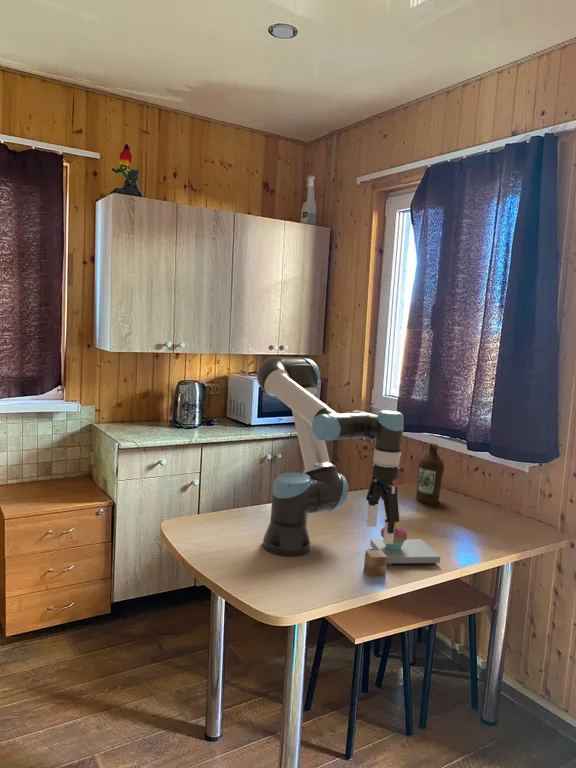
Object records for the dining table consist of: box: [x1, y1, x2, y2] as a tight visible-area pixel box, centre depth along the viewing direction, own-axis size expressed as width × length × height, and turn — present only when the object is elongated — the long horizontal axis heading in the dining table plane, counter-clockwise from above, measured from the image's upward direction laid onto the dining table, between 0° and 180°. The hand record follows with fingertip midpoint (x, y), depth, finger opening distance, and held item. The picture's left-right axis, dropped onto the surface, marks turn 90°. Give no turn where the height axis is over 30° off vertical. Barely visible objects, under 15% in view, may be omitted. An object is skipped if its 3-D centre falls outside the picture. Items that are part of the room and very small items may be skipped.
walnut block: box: [363, 549, 388, 578], centre depth 174 cm, size 5×5×6 cm
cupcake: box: [380, 513, 408, 551], centre depth 186 cm, size 9×8×12 cm
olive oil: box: [415, 442, 445, 505], centre depth 249 cm, size 11×11×25 cm
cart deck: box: [369, 538, 441, 567], centre depth 187 cm, size 18×14×3 cm
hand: (379, 534), depth 172 cm, fingers open, 13 cm apart
